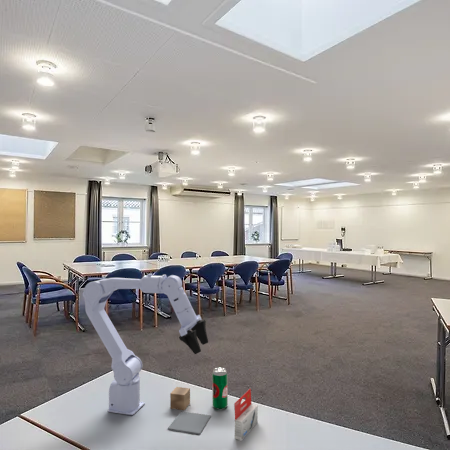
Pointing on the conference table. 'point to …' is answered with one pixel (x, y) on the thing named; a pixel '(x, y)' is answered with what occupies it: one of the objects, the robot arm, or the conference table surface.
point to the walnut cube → (180, 398)
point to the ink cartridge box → (245, 416)
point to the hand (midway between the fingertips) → (201, 348)
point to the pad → (189, 422)
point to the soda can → (219, 388)
